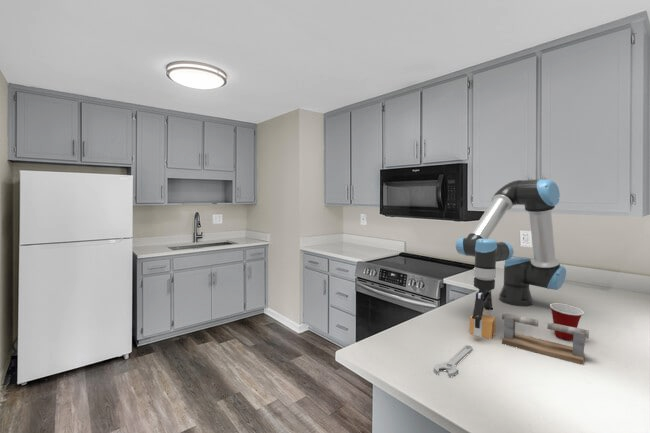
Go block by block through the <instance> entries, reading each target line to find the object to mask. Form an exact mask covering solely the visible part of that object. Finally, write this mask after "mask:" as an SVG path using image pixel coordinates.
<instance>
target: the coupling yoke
mask: <svg viewBox="0 0 650 433" xmlns="http://www.w3.org/2000/svg"><path fill="white" fill-rule="evenodd" d="M472 316H473V314H472V315H471V316H470V317H469V333H470V335H473V334H474V319H473V318H472ZM496 319H497V318H496V317H495V316H491V317H490V316H486V315H483V314H482V337H481V338H484V337H486V338H485V339H488V338H490V339H489V340H492V339H493V334H495V335H496V324H497V323H496V321H497V320H496Z"/></svg>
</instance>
